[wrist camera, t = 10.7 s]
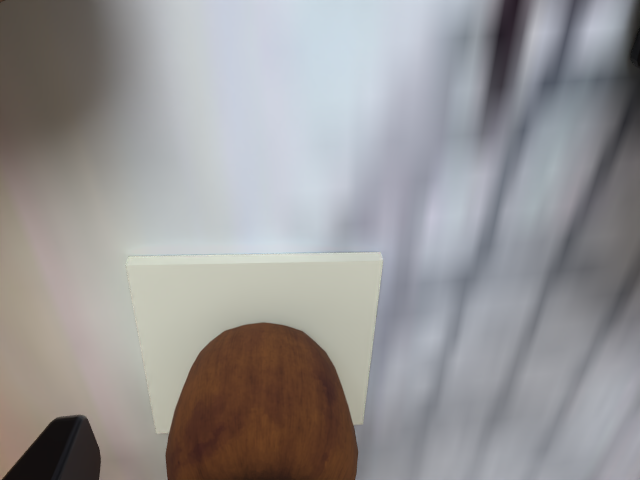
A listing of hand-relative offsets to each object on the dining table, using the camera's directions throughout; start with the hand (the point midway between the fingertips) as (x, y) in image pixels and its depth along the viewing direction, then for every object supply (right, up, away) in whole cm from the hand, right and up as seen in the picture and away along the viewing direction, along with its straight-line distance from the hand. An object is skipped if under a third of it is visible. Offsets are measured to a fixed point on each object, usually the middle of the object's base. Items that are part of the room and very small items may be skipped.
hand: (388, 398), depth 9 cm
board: (-4, -2, +17) cm, 18 cm away
